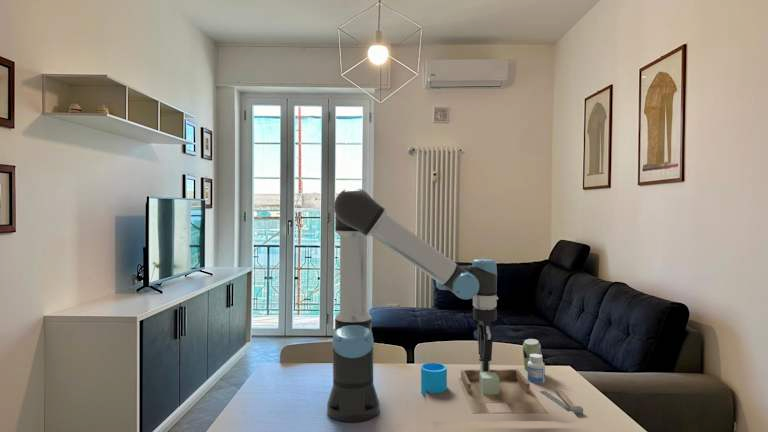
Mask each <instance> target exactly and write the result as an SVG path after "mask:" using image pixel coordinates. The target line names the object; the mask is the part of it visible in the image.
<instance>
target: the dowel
mask: <svg viewBox="0 0 768 432" xmlns="http://www.w3.org/2000/svg"><path fill="white" fill-rule="evenodd" d="M556 396H557V397H558V398H559V399H560V401H561V402H563V403H564V404H566V405H567V406H569V407H574V406H576V405H575V404H574V402H572V400H571V399H570V398H569V397H568V396H567V395H566V394H565V392H564V391H563V390H556Z"/></svg>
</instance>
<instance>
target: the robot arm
mask: <svg viewBox="0 0 768 432" xmlns="http://www.w3.org/2000/svg"><path fill="white" fill-rule="evenodd" d="M333 209H334V213H335V214H334V215H335V217H334V218H335V219H334V220H335V222H334V224H335V225H334V226H335V233H336V234H337V235H338V236H339V252H340V253H339V312H338V313H337V314H336V316H334V333H333V335H332V340H331V345H332V386H331V391H330V395H329V397H328V400H327V404H326V405H327V406H326V407H327V409H326V413H327V415H328V416H329V417H330V418H332V419H333V420H336V421H339V422H345V423H356V422H357V423H358V422H359V423H360V422H365V421H368V420H372V419H373V418H375V417H376V416H377V415H378V414H379V413H380V399H379V397H378V394H377V390H376V387H375V384H374V344H375V342H374V341H375V339H374V336H373V335H374V334H373V332H372V331H373V330H372V327H373V325H372V322H373V321H372V320H373V319H372V315H371V314H370V313H369V312H368V237H373V238H374V239H375V240H377V241H379V242H380V243H381V244H383V245H384V246H386V247H387V248H389V249H390V250H392V251H393V252H395V253H396V254H398V255H399V256H400V257H402V258H403V259H404V260H406V261H407V262H409V263H410V264H411V265H413V266H415V268H417V269H419V270H420V271H422V272H423V273H425V274H426V275H427V276H429V277H430V278H431V279H433V280H435V285H436V288H437V289H438V290H440V291H441V290H442V291H444V290H445V291H450V292H452V294H454V295H455V296H456V297H457V298H459V299H462V300H471V299H472V306H473V307H472V318H473V320H474V321H477V322H478V323H477V324H476V327H477V342H478V343H477V345H478V355H479V358H478V360H479V362H480V363H479V365H480V366H479V367H480V372H490V366H491V365H490V362H492V353H493V339H494V333H493V326H492V325H491V322H495V321H496V320H497V319H498V311H497V310H498V309H497V306H498V305H497V303H498V302H497V301H498V300H499V297H498V296H497V291H498V289H497V288H498V287H497V286H498V285H497V284H498V268H497V267H498V266H497V262H496V260H494V259H491V258H475V259H473V260H472V265H458V264H457V262H455V261H454V260H452V259H450V258H449V257H447V256H446V255H445V254H444V253H442V252H441V251H439V250H438V249H436V248H435V247H434V246H433V245H431V244H430V243H428V242H426V241H425V240H424V239H422V238H421V237H420V236H418V235H417V234H415V233H414V232H413V231H411V230H409V228H407V227H405V226H404V225H402V224H401V223H400V222H398V221H397V220H396V219H394V218H393V217H391V216H390V215H388V213H387V209H386V208H384V207H383V206H382V205H381V204H379V203H378V202H377V201H376V200H375V199H373V197H372V196H371V195H370V194H369V193H368V192H367V191H366V190H364V189H362V188H359V187H348V188H345V189H343V190H341V191H340V192H339V194H337V196H336V198H335V201H334V204H333Z"/></svg>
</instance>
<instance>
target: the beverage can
mask: <svg viewBox="0 0 768 432" xmlns="http://www.w3.org/2000/svg"><path fill="white" fill-rule="evenodd" d="M522 352H523V353H522V354H523V367H524V370H525V371H526V372H528V361H530V354H540V355H542V346H541V343H540V342H539V340H538V339H535V338H527V339H525V340H523V344H522Z"/></svg>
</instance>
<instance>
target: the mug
mask: <svg viewBox="0 0 768 432" xmlns="http://www.w3.org/2000/svg"><path fill="white" fill-rule="evenodd" d="M447 370H448V369H447V365H445V364H444V363H443V364H442V363H439V362H428V363H424V364H421V366H420V393H421V395H422V396H423V397H426V393H431V394H439V393H444V392H445V391H447V389H448V380H447V379H448V377H447V375H448V372H447Z"/></svg>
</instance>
